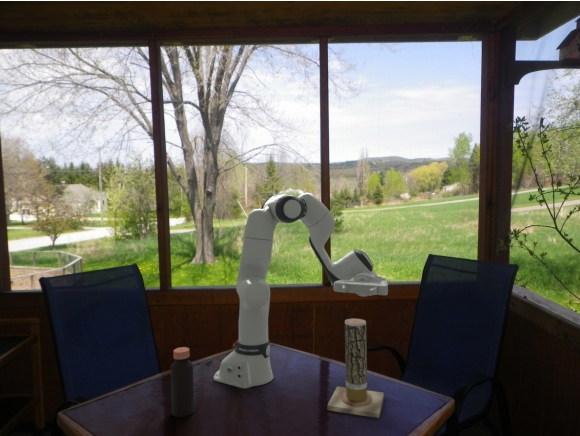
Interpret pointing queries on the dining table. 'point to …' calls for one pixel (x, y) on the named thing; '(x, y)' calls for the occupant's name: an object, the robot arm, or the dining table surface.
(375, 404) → the holder board
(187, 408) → the bottle
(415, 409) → the dining table surface
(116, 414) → the dining table surface
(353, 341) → the bark print tube
